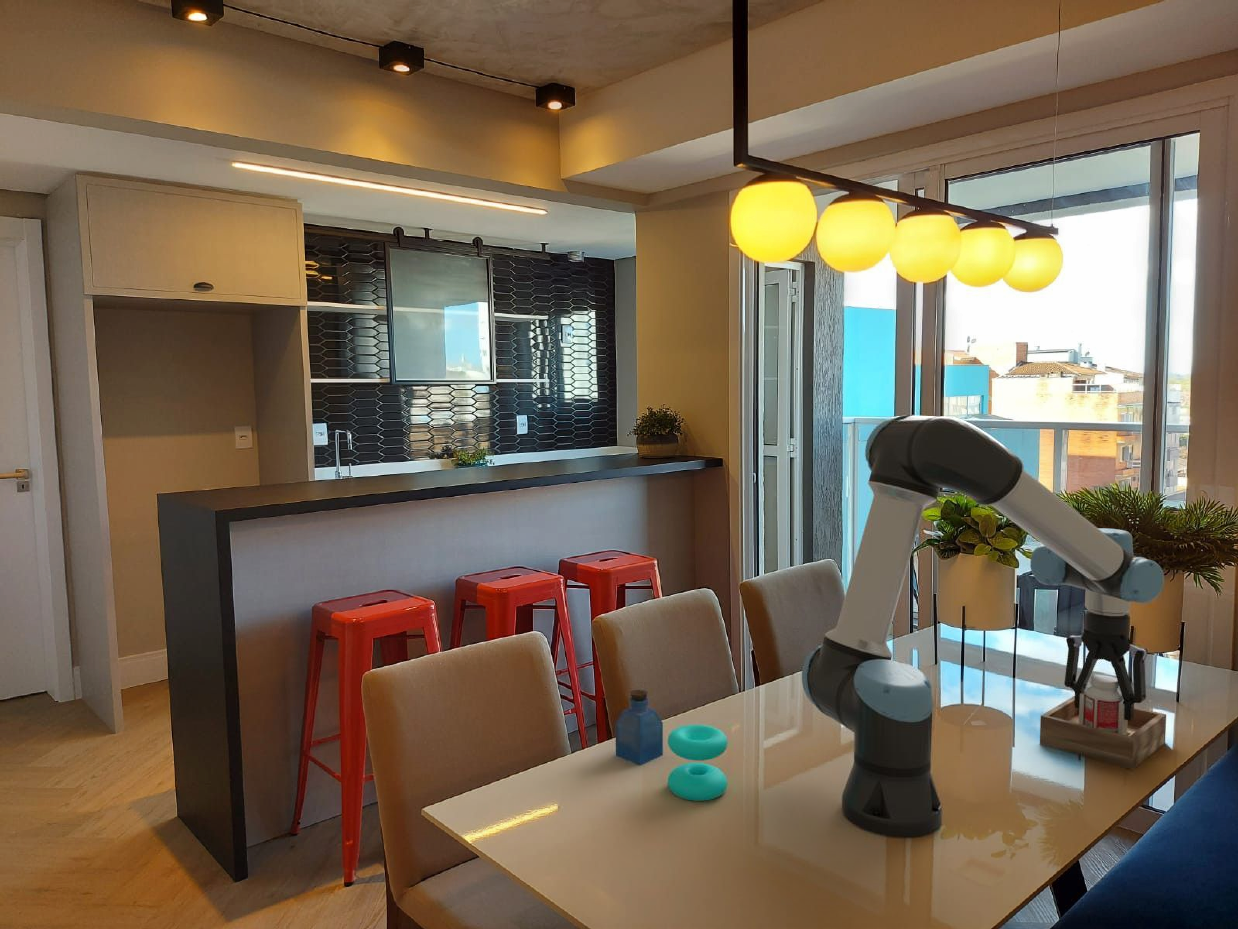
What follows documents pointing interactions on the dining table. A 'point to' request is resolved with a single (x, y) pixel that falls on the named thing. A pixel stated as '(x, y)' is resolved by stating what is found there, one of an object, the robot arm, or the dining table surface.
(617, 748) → the perfume bottle
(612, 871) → the dining table surface
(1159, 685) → the dining table surface
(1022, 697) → the dining table surface
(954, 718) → the dining table surface
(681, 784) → the donuts
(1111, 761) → the wooden box
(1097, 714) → the pill bottle
